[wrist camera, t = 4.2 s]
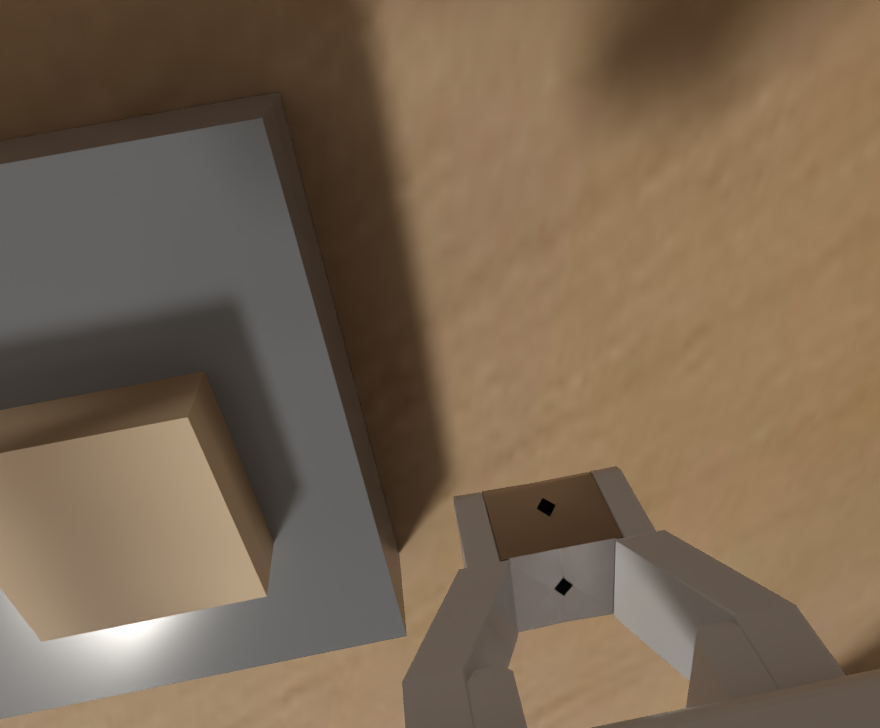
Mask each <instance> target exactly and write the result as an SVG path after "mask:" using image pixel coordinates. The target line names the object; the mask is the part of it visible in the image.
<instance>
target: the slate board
mask: <svg viewBox="0 0 880 728" xmlns="http://www.w3.org/2000/svg"><path fill="white" fill-rule="evenodd" d="M204 371H205V374H206V376H207V379H208V381H209V384H210V386H211V388H212V391H213V393H214V396H215V398H216V401H217V403H218V406H219V408H220V411H221V413H222V416H223V418H224V421H225V423H226V425H227V428H228V430H229V433H230V435H231V438H232V440H233V443H234V445H235V448H236V450H237V453H238V455H239V458H240V460H241V462H242V465H243V467H244V470H245V472H246V475H247V477H248V480H249V482H250V485H251V487H252V490H253V492H254V495H255V497H256V499H257V502H258V504H259V507H260V509H261V512H262V514H263V517H264V519H265V522H266V524H267V527H268V529H269V532H270V534H271V536H272V539H273V541H274V546H273V554H272V562H271V569H270V577H269V584H268V592H267V597H262V598H257V599H252V600H247V601H242V602H237V603H232V604H227V605H222V606H217V607H212V608H207V609H202V610H197V611H192V612H187V613H182V614H177V615H173V616H168V617H163V618H158V619H153V620H148V621H143V622H138V623H133V624H128V625H123V626H118V627H113V628H108V629H103V630H98V631H93V632H88V633H83V634H78V635H73V636H68V637H63V638H58V639H53V640H48V641H43V642H41V641H40V639H39V638H38V637H37V635H36V634H35V633H34V631H33V630H32V629H31V628H30V626H29V625H28V624H27V622H26V621H25V620H24V618H23V617H22V616H21V615H20V613H19V612H18V611H17V609H16V608H15V607H14V606H13V604H12V603H11V602H10V600H9V599H8V598H7V596H6V595H5V594H4V593H3V591H2V590H1V589H0V719H3V718H8V717H13V716H17V715H22V714H27V713H32V712H37V711H42V710H47V709H52V708H57V707H61V706H66V705H71V704H76V703H81V702H86V701H91V700H96V699H101V698H105V697H110V696H115V695H120V694H125V693H130V692H135V691H140V690H145V689H149V688H154V687H159V686H164V685H169V684H174V683H179V682H184V681H189V680H193V679H198V678H203V677H208V676H213V675H218V674H223V673H228V672H233V671H237V670H242V669H247V668H252V667H257V666H262V665H267V664H272V663H277V662H281V661H286V660H291V659H296V658H301V657H306V656H311V655H316V654H320V653H325V652H330V651H335V650H340V649H345V648H350V647H355V646H360V645H364V644H369V643H374V642H379V641H384V640H389V639H394V638H399V637H404V636H407V634H406V623H405V612H404V601H403V590H402V579H401V568H400V557H399V552H398V548H397V544H396V540H395V536H394V532H393V528H392V525H391V521H390V517H389V513H388V509H387V505H386V502H385V498H384V494H383V490H382V486H381V482H380V479H379V475H378V471H377V467H376V463H375V459H374V456H373V452H372V448H371V444H370V440H369V436H368V432H367V429H366V425H365V421H364V417H363V413H362V409H361V406H360V402H359V398H358V394H357V390H356V386H355V383H354V379H353V375H352V371H351V367H350V363H349V360H348V356H347V352H346V348H345V344H344V340H343V336H342V333H341V329H340V325H339V321H338V317H337V313H336V310H335V306H334V302H333V298H332V294H331V290H330V287H329V283H328V279H327V275H326V271H325V267H324V264H323V260H322V256H321V252H320V248H319V244H318V240H317V237H316V233H315V229H314V225H313V221H312V217H311V214H310V210H309V206H308V202H307V198H306V194H305V191H304V187H303V183H302V179H301V175H300V171H299V168H298V164H297V160H296V156H295V152H294V148H293V144H292V141H291V137H290V133H289V129H288V125H287V121H286V118H285V114H284V110H283V106H282V102H281V98H280V95H279V92H275V93H270V94H264V95H258V96H253V97H247V98H241V99H236V100H230V101H224V102H219V103H213V104H207V105H202V106H196V107H190V108H185V109H179V110H173V111H168V112H162V113H156V114H151V115H145V116H139V117H134V118H128V119H122V120H117V121H111V122H105V123H100V124H94V125H88V126H83V127H77V128H71V129H66V130H60V131H54V132H49V133H43V134H37V135H32V136H26V137H21V138H15V139H9V140H4V141H0V410H4V409H9V408H14V407H19V406H25V405H30V404H35V403H40V402H46V401H51V400H56V399H62V398H67V397H72V396H77V395H83V394H88V393H93V392H98V391H104V390H109V389H114V388H120V387H125V386H130V385H135V384H141V383H146V382H151V381H156V380H162V379H167V378H172V377H178V376H183V375H188V374H193V373H199V372H204Z"/></svg>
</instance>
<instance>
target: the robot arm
mask: <svg viewBox="0 0 880 728" xmlns="http://www.w3.org/2000/svg"><path fill="white" fill-rule="evenodd" d="M454 507H455V513H456V519H457V525H458V532H459V538H460V544H461V550H462V556H463V562H464V569H459V571H458V573H457V575H456V577H455V579H454V581H453V583H452V585H451V587H450V589H449V591H448V593H447V595H446V597H445V599H444V601H443V603H442V605H441V607H440V608H439V610H438V612H437V614H436V616H435V618H434V620H433V622H432V624H431V626H430V628H429V630H428V632H427V634H426V636H425V638H424V640H423V642H422V644H421V646H420V648H419V650H418V652H417V654H416V656H415V658H414V660H413V662H412V664H411V666H410V668H409V670H408V672H407V674H406V676H405V677H404V679H403V681H402V686H403V699H404V713H405V727H406V728H527V725H526V721H525V717H524V713H523V709H522V705H521V701H520V697H519V693H518V690H517V686H516V682H515V678H514V674H513V671H512V670H510V669H508V666H509V663H510V660H511V656H512V653H513V650H514V647H515V644H516V641H517V638H518V632H522V631H527V630H531V629H536V628H540V627H544V626H549V625H553V624H558V623H562V622H567V621H573V620H579V619H585V618H591V617H597V616H603V615H609V614H614V617H615V618H617V619H618V620H619V621H620V622H621V623H622V624H623V625H625V626H626V627H627V628H628V629H629V630H630V631H632V632H633V633H634V634H635V635H636V636H637V637H639V638H640V639H641V640H642V641H643V642H644V643H645V644H647V645H648V646H649V647H650V648H651V649H652V650H654V651H655V652H656V653H657V654H658V655H659V656H661V657H662V658H663V659H664V660H665V661H666V662H667V663H669V664H670V665H671V666H672V667H673V668H674V669H676V670H677V671H678V672H679V673H680V674H681V675H683V676H684V677H685V678H686V679H687V680H688V681H689V682H690V683H689V690H688V697H687V705H686V708H685V709H680V710H676V711H671V712H666V713H661V714H656V715H651V716H646V717H641V718H636V719H631V720H626V721H621V722H616V723H612V724H607V725H602V726H597V727H592V728H880V669H876V670H871V671H866V672H861V673H856V674H851V675H846V674H845V673H844V672H843V670H842V669H841V667H840V666H839V665H838V663H837V662H836V660H835V659H834V658H833V656H832V655H831V653H830V652H829V651H828V649H827V648H826V647H825V645H824V644H823V642H822V641H821V640H820V638H819V637H818V635H817V634H816V633H815V631H814V630H813V628H812V627H811V626H810V624H809V623H808V622H807V620H806V619H805V617H804V616H803V615H802V613H801V612H800V610H799V609H798V608H797V606H796V605H795V604H793V603H791V602H789V601H788V600H786V599H784V598H782V597H781V596H779V595H777V594H775V593H774V592H772V591H770V590H768V589H767V588H765V587H763V586H761V585H760V584H758V583H756V582H754V581H753V580H751V579H749V578H747V577H746V576H744V575H742V574H740V573H739V572H737V571H735V570H733V569H732V568H730V567H728V566H726V565H725V564H723V563H721V562H719V561H718V560H716V559H714V558H712V557H711V556H709V555H707V554H705V553H704V552H702V551H700V550H698V549H697V548H695V547H693V546H691V545H690V544H688V543H686V542H684V541H683V540H681V539H679V538H677V537H676V536H674V535H672V534H670V533H669V532H667V531H665V530H662V531H657V532H656V530H655V529H654V527H653V525H652V523H651V522H650V520H649V518H648V516H647V515H646V513H645V511H644V509H643V508H642V506H641V504H640V502H639V501H638V499H637V497H636V495H635V494H634V492H633V490H632V488H631V487H630V485H629V483H628V481H627V480H626V478H625V476H624V474H623V473H622V471H621V469H619V468H618V467H617V466H615V467H610V468H605V469H600V470H595V471H590V472H589V473H587V472H586V473H581V474H576V475H570V476H565V477H560V478H555V479H550V480H545V481H540V482H535V483H530V484H524V485H518V486H512V487H506V488H500V489H494V490H487V491H482V494H481V492H480V493H473V494H467V495H460V496H454Z"/></svg>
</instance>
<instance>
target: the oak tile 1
mask: <svg viewBox="0 0 880 728" xmlns="http://www.w3.org/2000/svg"><path fill="white" fill-rule="evenodd" d="M273 546H274V541H273V539H272V536H271V534H270V532H269V529H268V527H267V524H266V522H265V519H264V517H263V514H262V512H261V509H260V507H259V504H258V502H257V499H256V497H255V495H254V492H253V490H252V487H251V485H250V482H249V480H248V477H247V475H246V472H245V470H244V467H243V465H242V462H241V460H240V458H239V455H238V453H237V450H236V448H235V445H234V443H233V440H232V438H231V435H230V433H229V430H228V428H227V425H226V423H225V421H224V418H223V416H222V413H221V411H220V408H219V406H218V403H217V401H216V398H215V396H214V393H213V391H212V388H211V386H210V384H209V381H208V379H207V376H206V374H205V371H204V372H199V373H193V374H188V375H183V376H178V377H172V378H167V379H162V380H156V381H151V382H146V383H141V384H135V385H130V386H125V387H120V388H114V389H109V390H104V391H98V392H93V393H88V394H83V395H77V396H72V397H67V398H62V399H56V400H51V401H46V402H40V403H35V404H30V405H25V406H19V407H14V408H9V409H4V410H0V589H1V590H2V591H3V593H4V594H5V595H6V596H7V598H8V599H9V600H10V602H11V603H12V604H13V606H14V607H15V608H16V609H17V611H18V612H19V613H20V615H21V616H22V617H23V618H24V620H25V621H26V622H27V624H28V625H29V626H30V628H31V629H32V630H33V631H34V633H35V634H36V635H37V637H38V638H39V639H40V641H41V642H43V641H48V640H53V639H58V638H63V637H68V636H73V635H78V634H83V633H88V632H93V631H98V630H103V629H108V628H113V627H118V626H123V625H128V624H133V623H138V622H143V621H148V620H153V619H158V618H163V617H168V616H173V615H177V614H182V613H187V612H192V611H197V610H202V609H207V608H212V607H217V606H222V605H227V604H232V603H237V602H242V601H247V600H252V599H257V598H262V597H267V592H268V584H269V577H270V569H271V562H272V554H273Z"/></svg>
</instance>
